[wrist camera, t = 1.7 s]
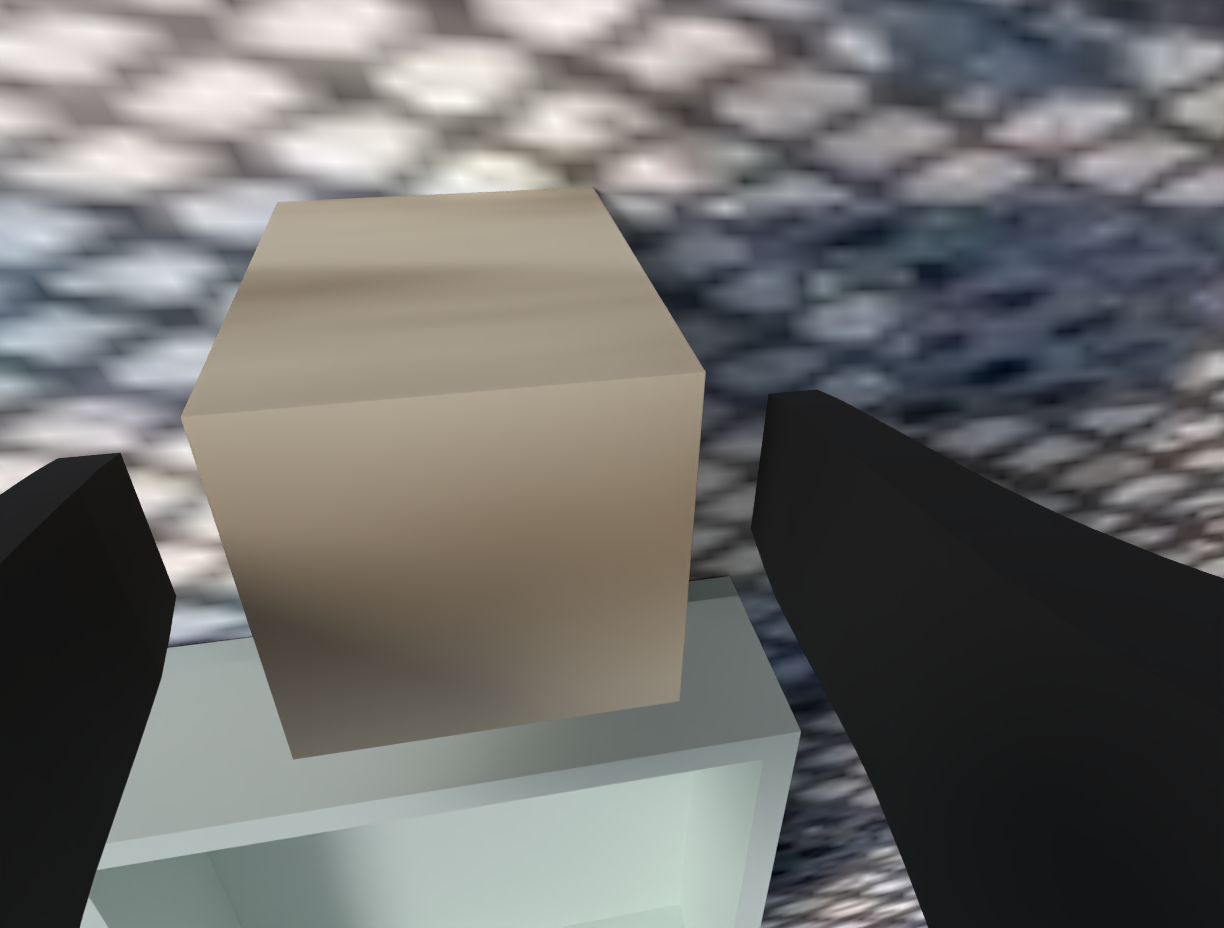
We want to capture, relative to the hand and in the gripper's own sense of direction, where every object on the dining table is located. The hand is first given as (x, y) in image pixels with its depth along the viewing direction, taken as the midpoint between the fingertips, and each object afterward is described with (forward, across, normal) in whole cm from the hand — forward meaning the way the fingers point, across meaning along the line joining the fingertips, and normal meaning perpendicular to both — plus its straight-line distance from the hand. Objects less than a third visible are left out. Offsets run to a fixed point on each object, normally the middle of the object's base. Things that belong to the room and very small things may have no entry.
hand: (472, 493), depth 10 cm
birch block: (+4, 0, 0) cm, 5 cm away
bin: (+4, +1, +12) cm, 13 cm away
